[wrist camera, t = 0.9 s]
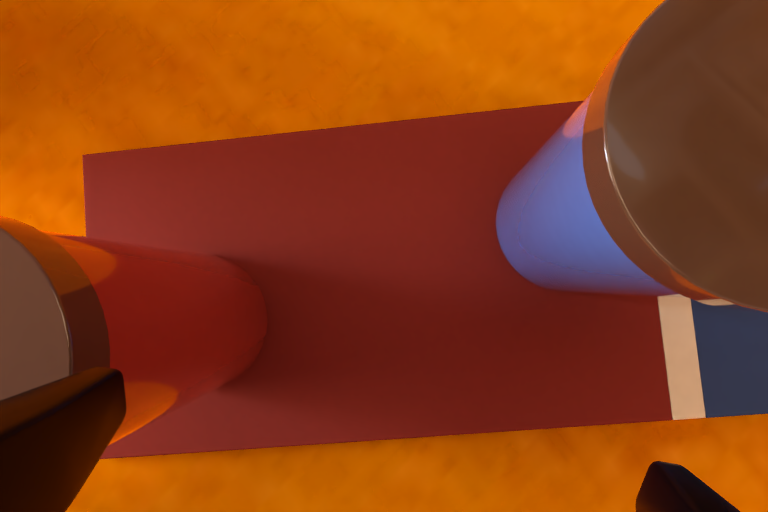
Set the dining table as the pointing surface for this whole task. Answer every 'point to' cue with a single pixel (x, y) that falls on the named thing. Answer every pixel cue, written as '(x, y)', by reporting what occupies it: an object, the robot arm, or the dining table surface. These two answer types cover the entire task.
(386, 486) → the dining table surface
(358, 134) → the sorting mat
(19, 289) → the red canister
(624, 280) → the blue canister
